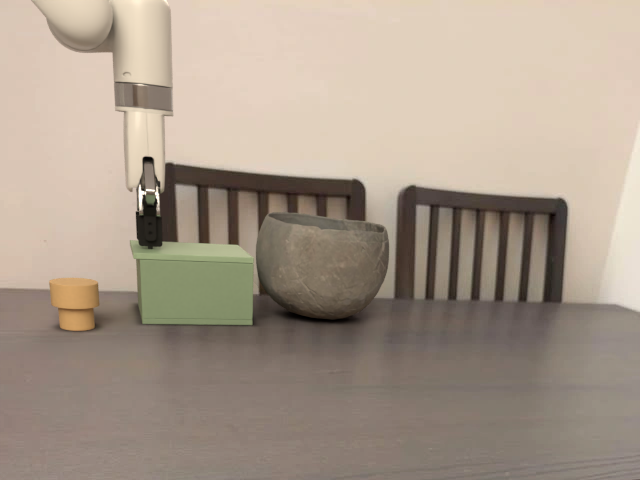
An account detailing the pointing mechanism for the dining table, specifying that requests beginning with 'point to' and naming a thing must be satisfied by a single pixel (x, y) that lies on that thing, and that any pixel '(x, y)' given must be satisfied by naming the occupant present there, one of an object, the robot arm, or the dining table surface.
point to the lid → (191, 252)
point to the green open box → (195, 292)
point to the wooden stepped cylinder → (75, 302)
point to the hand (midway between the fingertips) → (149, 242)
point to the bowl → (321, 263)
